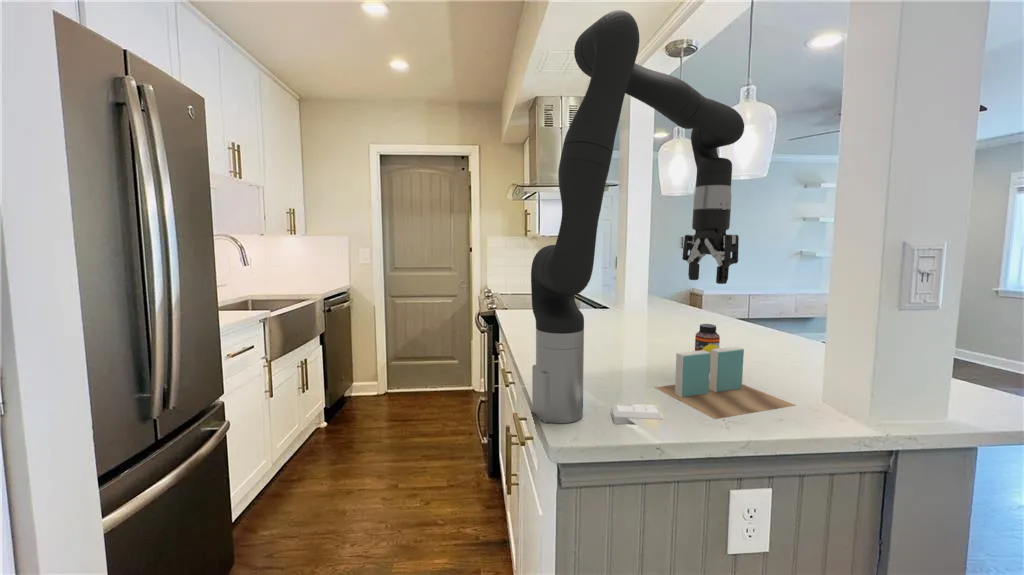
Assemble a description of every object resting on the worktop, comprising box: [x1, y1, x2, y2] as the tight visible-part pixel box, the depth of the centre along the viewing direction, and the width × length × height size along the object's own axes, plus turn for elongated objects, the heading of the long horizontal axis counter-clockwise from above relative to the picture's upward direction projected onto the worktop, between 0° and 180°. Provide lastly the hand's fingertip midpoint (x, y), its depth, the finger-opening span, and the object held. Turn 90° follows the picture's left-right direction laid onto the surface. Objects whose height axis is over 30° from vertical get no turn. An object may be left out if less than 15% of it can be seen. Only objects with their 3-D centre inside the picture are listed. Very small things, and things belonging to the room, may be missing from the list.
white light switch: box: [610, 403, 665, 426], centre depth 84 cm, size 5×9×3 cm, turn 83°
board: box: [654, 383, 796, 420], centre depth 93 cm, size 20×18×1 cm
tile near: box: [674, 350, 710, 397], centre depth 93 cm, size 7×2×9 cm, turn 108°
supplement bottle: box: [694, 323, 721, 351], centre depth 117 cm, size 6×6×11 cm
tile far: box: [709, 346, 745, 392], centre depth 96 cm, size 7×2×9 cm, turn 108°
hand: (706, 281), depth 98 cm, fingers open, 8 cm apart
